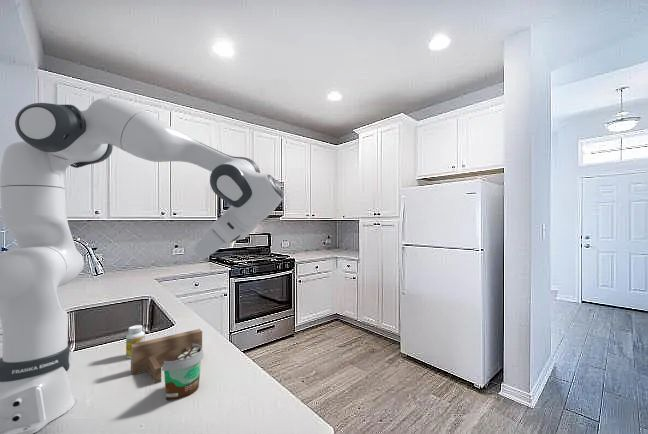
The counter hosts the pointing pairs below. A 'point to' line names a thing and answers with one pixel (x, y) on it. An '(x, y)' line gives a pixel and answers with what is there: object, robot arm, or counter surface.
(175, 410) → the counter surface
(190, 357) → the food container
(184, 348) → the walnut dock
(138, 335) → the supplement bottle
